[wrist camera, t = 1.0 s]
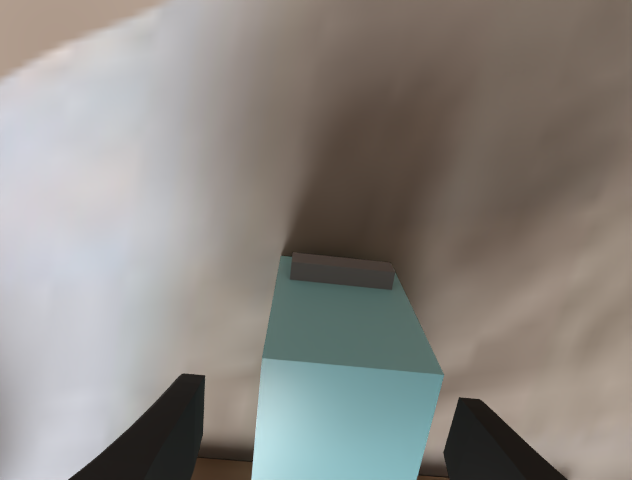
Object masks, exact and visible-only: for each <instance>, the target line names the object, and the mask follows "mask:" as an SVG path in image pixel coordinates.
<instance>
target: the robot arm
mask: <svg viewBox="0 0 632 480" xmlns="http://www.w3.org/2000/svg"><path fill="white" fill-rule="evenodd" d="M204 389H205V375H194V374H181V375H180V376H179V377H178V378H177V379H176V380H175V381H174V382H173V383H172V385H171V386H170V387H169V388H168V389H167V390H166V391H165V392H164V393H163V394H162V395H161V397H160V398H159V399H158V400H157V401H156V402H155V403H154V404H153V405H152V406H151V407H150V408H149V409H148V410H147V411H146V412H145V413H144V414H143V415H142V416H141V417H140V418H139V419H138V420H137V421H136V422H135V423H134V424H133V425H132V426H131V427H130V428H129V429H128V430H126V431H125V432H124V433H123V434H122V435H121V436H120V437H119V438H118V439H116V440H115V441H114V442H113V443H112V444H111V445H110V446H109V447H107V448H106V449H105V450H104V451H103V452H102V453H101V454H100V455H98V456H97V457H96V458H95V459H94V460H92V461H91V462H90V463H89V464H87V465H86V466H85V467H84V468H82V469H81V470H80V471H79V472H77V473H76V474H75V475H73V476H72V477H71V478H70V479H68V480H191V477H192V474H193V471H194V468H195V464H196V460H197V456H198V452H199V448H200V444H201V440H202V436H203V418H204ZM443 453H444V458H445V462H446V466H447V471H448V475H449V479H450V480H567V479H566V478H565V477H564V476H563V475H562V474H560V473H559V472H558V471H557V470H556V469H555V468H554V467H553V466H551V465H550V464H549V463H548V462H547V461H546V460H545V459H544V458H542V457H541V456H540V455H539V454H538V453H537V452H536V451H535V450H534V449H533V448H532V447H531V446H529V445H528V444H527V443H526V442H525V441H524V440H523V439H522V438H521V437H520V436H519V435H518V434H517V433H516V432H515V431H514V430H513V429H512V428H510V427H509V426H508V425H507V424H506V423H505V422H504V421H503V420H502V419H501V418H500V417H499V416H498V415H497V414H496V413H495V412H494V411H493V410H491V409H490V408H489V407H488V406H487V405H486V404H485V403H484V402H483V401H481V400H480V399H471V398H460V397H459V400H458V403H457V407H456V410H455V414H454V417H453V421H452V424H451V428H450V431H449V435H448V438H447V442H446V445H445V449H444V452H443Z"/></svg>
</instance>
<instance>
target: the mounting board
mask: <svg viewBox="0 0 632 480" xmlns="http://www.w3.org/2000/svg"><path fill="white" fill-rule="evenodd" d="M252 467H253V462H245V461H233V460H220V459H208V458H197V460H196V464H195V468H194V471H193V474H192V477H191V480H251V478H252ZM417 480H450V479H449V478H445V477H432V476H420V475H418V476H417Z"/></svg>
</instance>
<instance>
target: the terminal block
mask: <svg viewBox="0 0 632 480" xmlns="http://www.w3.org/2000/svg"><path fill="white" fill-rule="evenodd" d="M443 377H444V374H443V372H442V369H441V367H440V365H439V363H438V361H437V359H436V357H435V355H434V353H433V350H432V348H431V346H430V344H429V342H428V340H427V338H426V336H425V334H424V332H423V329H422V327H421V325H420V323H419V321H418V319H417V317H416V315H415V313H414V310H413V308H412V306H411V304H410V302H409V300H408V298H407V296H406V294H405V291H404V289H403V287H402V285H401V283H400V281H399V279H398V277H397V275H396V273H395V270H394V268H393V267H392V265H391V263H390V262H381V261H371V260H362V259H352V258H343V257H333V256H324V255H314V254H305V253H295V252H293V253H292V257H289V256H281V258H280V263H279V269H278V274H277V280H276V285H275V290H274V296H273V301H272V307H271V312H270V318H269V323H268V329H267V334H266V340H265V345H264V350H263V356H262V365H261V376H260V388H259V399H258V410H257V421H256V433H255V444H254V455H253V467H252V478H251V480H417V476H418V473H419V469H420V465H421V461H422V457H423V453H424V450H425V446H426V442H427V438H428V434H429V431H430V427H431V423H432V419H433V415H434V411H435V408H436V404H437V400H438V396H439V392H440V389H441V385H442V381H443Z"/></svg>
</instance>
